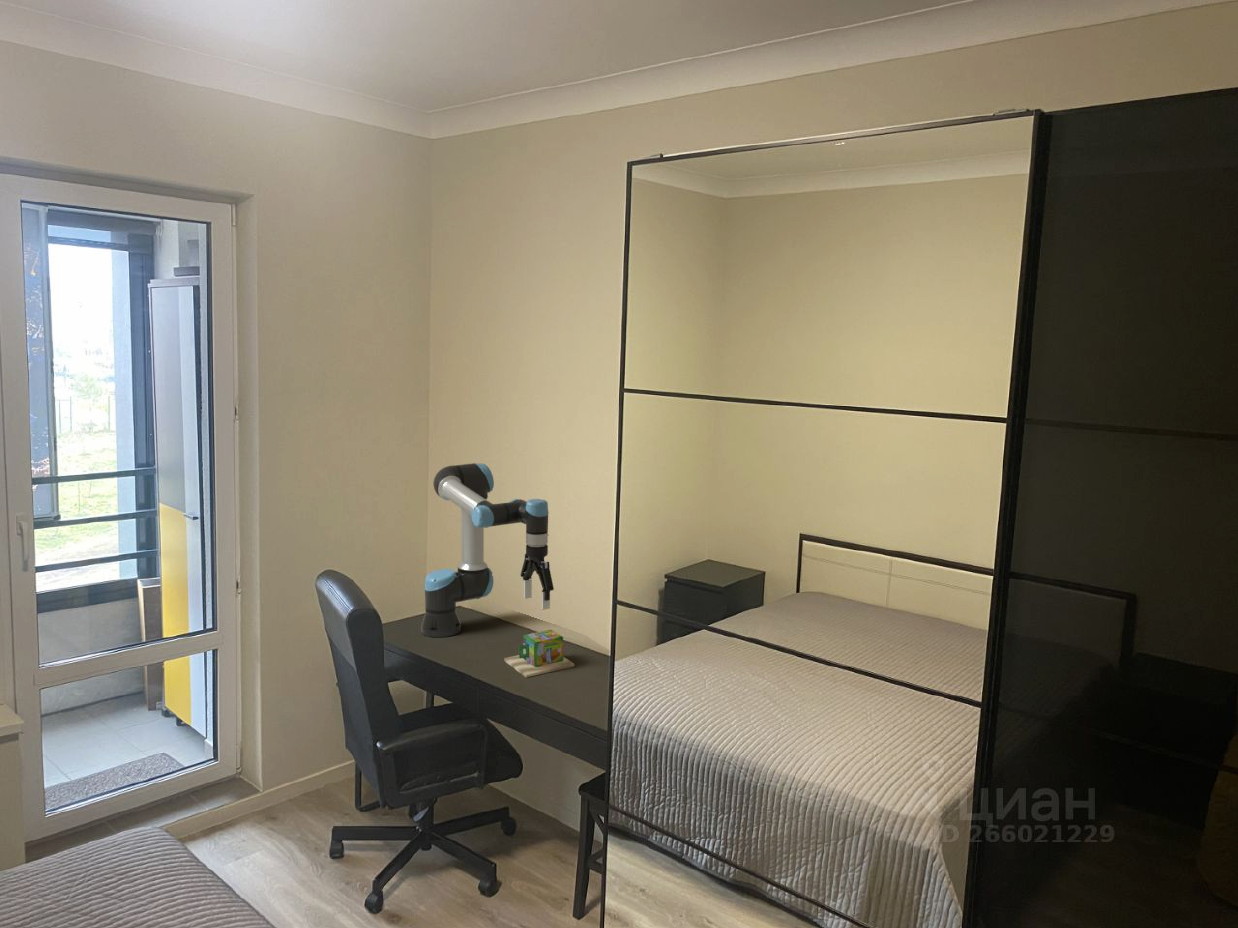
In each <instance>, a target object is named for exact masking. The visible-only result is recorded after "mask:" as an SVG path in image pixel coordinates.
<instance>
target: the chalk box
mask: <svg viewBox="0 0 1238 928" xmlns="http://www.w3.org/2000/svg"><path fill="white" fill-rule="evenodd" d="M518 655H519V658H524V659H525V660H526V661H527V662H529V663H530V664H532V665H533V666H534V667H536V666H541V665H545V664H550V663H554V662H559V661H563V657H564V636H562V635H561V634H559V633H558V632H556V631H555V630H553V629H548V630H543V631H537V632H532V633H527V634H524V635H523V637H522V645H519V646H518Z"/></svg>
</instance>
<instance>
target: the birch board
mask: <svg viewBox="0 0 1238 928" xmlns="http://www.w3.org/2000/svg"><path fill="white" fill-rule="evenodd" d="M503 660H504V662H505V663H506V664H507V665H509V666H510V667H512V668H513V669H514V670H515V671H517V672H518V673H519V674H521V676H523V677H524V678H529V677H535V676H538V675H542V674H548V673H551V672H552V673H553V672H557V671H561V670H565V669H569V668H573V667H575V663H574V662H573V661H571V660H569V659H568V658H566V657H565V656H563V661H559V662H554V663H550V664H545V665H541V666H536V667H534V666H533V665H532V664H530V663H529V662H527V661H526V660H525V659H524V658H519V654H518V655H513V656H509V657H508V656H507V657H504V658H503Z"/></svg>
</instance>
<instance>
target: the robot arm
mask: <svg viewBox="0 0 1238 928" xmlns="http://www.w3.org/2000/svg"><path fill="white" fill-rule="evenodd" d="M494 483H495V482H494V475H493V474H492V470H491V469H490V467H489V466H488V465H486V464H485V463H479V462H478V463H475V462H474V463H465V464H458V465H457V464H456V465H448V466H444V467H442V468H441V469H439V471H438V472H437V473H436V475H435V477H434V478H433V489H434V492H435V494H437V496H439V498H441V499H443V500H445V501H450V502H451V503H453V504H454V505H455V506H457V507H459V508H460V509H461V510H460V511H461V516H460V517H461V519H460V520H461V521H460V522H461V560H460V563H458V565H457V571H455V569H451V568H442V569H436V570H433V571H432V572H430V573H428V574H427V575H426V577H425V579H424V588H423V589H424V603H425V604H424V606H425V607H424V608H425V613H424V615H423V619H422V622H421V625H420V631H421V634H423V635H424V636H427V637H433V638H445V637H451V636H454V635H455V636H456V635H457V634H458V633H460V632H461V630H462V628H461V621H460V618H459V615H458V613H457V603H460V602H461V603H462V602H466V601H471V600H478V599H481V598H485V597H487V596H489V595H490V594H491V592H492V590H493V589H494V588H493V587H494V576H493V571H492V570H491V568H490V567H488V564H487V563H486V562H485V560H484V558H485V556H484V555H485V554H484V553H485V552H484V547H485V545H484V544H485V542H484V537H485V536H484V533H485V532H484V530H485V529H487V528H491V527H497V526H505V525H512V524H519V523H520V524H524V525H525V526H526V527H525V543H526V545H525V554H524V560H523V563H522V568H521V572H520V577H521V578H522V580H523V599H524V600H525V599H526V600H527V599H532V594H533V592H532V591H533V590H532V589H533V588H532V587H533V583H532V581H533V580H532V578H533V577H532V576H533V574H534V572H535V573H536V575H538V579H539V581H540V584H541V587H542V590H541V610H548V609H550V608H551V607H550V606H551V594H550V593H551V591H554V588H555V587H554V584H553V579H552V574H551V573H552V572H551V568H550V562H549V561H545V557H547V556H548V554H549V551H548V550H549V549H548V548H549V546H548V543H549V542H548V541H549V539H548V538H549V537H548V536H549V504H548V501H547V500H545V499H541V498H531V499H528V500H525V499H521V498H520V499H519V498H518V499H517V498H514V499H511V500H510V501H508V502H503V503H501V502H500V503H492V502H490V501H489V500H488V497H489V496H488V493H491V492H492V491H493V489H494V486H495V484H494Z"/></svg>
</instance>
